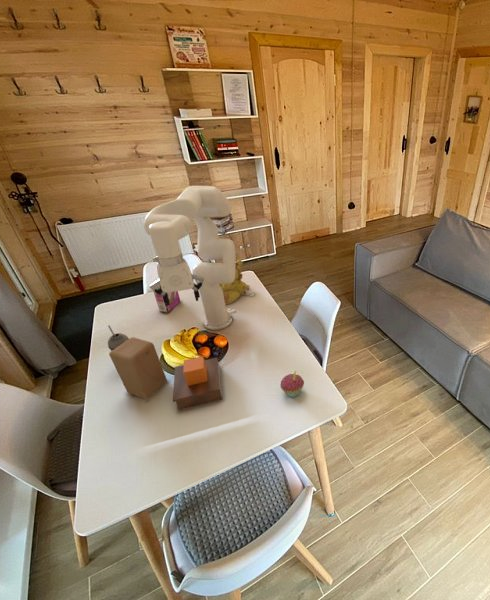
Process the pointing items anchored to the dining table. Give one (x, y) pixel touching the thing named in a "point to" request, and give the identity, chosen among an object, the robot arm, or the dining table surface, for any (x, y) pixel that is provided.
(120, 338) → the beverage cup
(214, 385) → the lid
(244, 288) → the giraffe plush
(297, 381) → the cupcake
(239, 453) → the dining table surface
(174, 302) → the candy bar box
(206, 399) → the chest
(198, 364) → the orange cube
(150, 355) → the wooden block
